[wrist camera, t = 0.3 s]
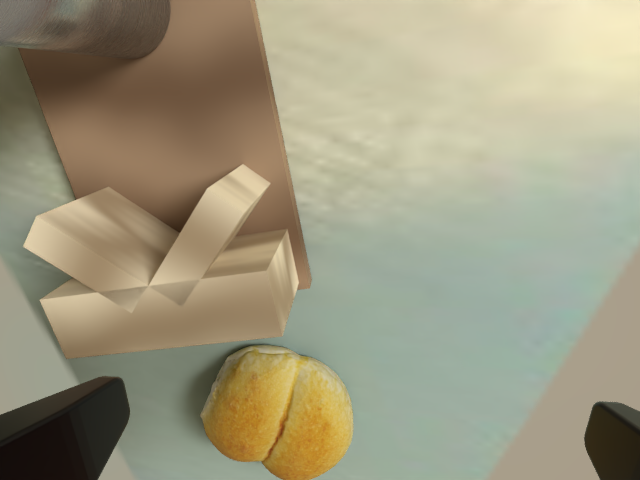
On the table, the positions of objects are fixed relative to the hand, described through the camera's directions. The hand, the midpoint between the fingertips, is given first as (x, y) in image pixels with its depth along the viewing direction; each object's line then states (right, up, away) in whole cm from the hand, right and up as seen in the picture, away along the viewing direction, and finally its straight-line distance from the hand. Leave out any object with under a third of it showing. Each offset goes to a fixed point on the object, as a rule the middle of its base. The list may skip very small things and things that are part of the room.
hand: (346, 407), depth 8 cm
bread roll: (-3, -7, +18) cm, 20 cm away
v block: (-7, +4, +13) cm, 16 cm away
